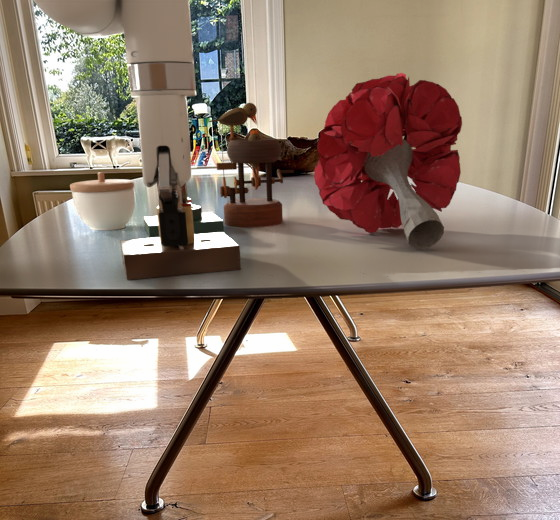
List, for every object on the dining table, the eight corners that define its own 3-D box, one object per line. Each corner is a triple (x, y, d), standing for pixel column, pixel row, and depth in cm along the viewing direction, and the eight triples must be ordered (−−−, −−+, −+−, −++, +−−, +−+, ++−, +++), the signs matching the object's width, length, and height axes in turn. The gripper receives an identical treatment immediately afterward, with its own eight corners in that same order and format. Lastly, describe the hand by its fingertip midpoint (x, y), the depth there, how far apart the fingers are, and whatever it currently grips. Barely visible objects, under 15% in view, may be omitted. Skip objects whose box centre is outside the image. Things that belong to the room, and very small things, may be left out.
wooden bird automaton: (227, 230, 100) (215, 100, 94) (209, 226, 110) (198, 108, 103) (309, 222, 105) (304, 98, 99) (285, 219, 115) (279, 106, 108)
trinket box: (94, 235, 99) (85, 176, 96) (66, 228, 107) (57, 173, 103) (150, 226, 106) (144, 171, 102) (120, 220, 113) (113, 168, 110)
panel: (127, 280, 71) (123, 253, 70) (122, 262, 80) (119, 239, 79) (240, 269, 75) (239, 244, 74) (224, 253, 84) (223, 230, 82)
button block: (150, 240, 95) (147, 214, 93) (144, 229, 103) (142, 206, 102) (224, 234, 98) (222, 209, 96) (212, 224, 106) (211, 201, 105)
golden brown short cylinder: (158, 246, 74) (153, 206, 72) (162, 239, 78) (158, 202, 76) (193, 245, 74) (190, 205, 72) (196, 238, 78) (192, 200, 76)
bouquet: (482, 283, 91) (419, 167, 109) (534, 143, 72) (447, 30, 90) (344, 302, 89) (303, 181, 106) (361, 163, 70) (307, 44, 87)
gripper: (142, 87, 77) (157, 230, 84) (114, 79, 61) (136, 256, 68) (200, 85, 77) (211, 229, 84) (187, 77, 61) (201, 254, 69)
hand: (177, 239), depth 76 cm, fingers closed on golden brown short cylinder, 4 cm apart
